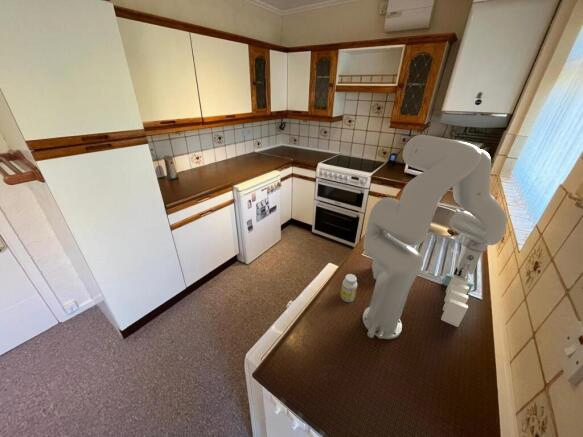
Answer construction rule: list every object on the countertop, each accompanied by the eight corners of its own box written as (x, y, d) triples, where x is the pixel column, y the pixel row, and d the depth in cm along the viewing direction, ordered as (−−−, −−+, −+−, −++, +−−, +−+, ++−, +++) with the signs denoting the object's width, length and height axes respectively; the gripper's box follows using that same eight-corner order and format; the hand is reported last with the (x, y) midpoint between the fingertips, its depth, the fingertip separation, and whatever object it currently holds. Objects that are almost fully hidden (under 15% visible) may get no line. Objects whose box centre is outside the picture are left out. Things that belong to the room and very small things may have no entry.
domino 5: (473, 284, 90) (446, 275, 95) (468, 294, 93) (442, 284, 97) (473, 282, 92) (446, 272, 96) (468, 291, 94) (442, 282, 98)
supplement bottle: (344, 303, 88) (348, 284, 83) (337, 293, 92) (340, 274, 87) (357, 300, 89) (361, 281, 84) (350, 290, 94) (353, 271, 89)
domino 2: (459, 307, 87) (468, 289, 82) (444, 301, 89) (452, 283, 85) (459, 304, 88) (468, 286, 84) (444, 298, 90) (452, 280, 86)
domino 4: (457, 327, 80) (467, 308, 75) (440, 319, 82) (449, 301, 78) (458, 323, 81) (467, 305, 76) (441, 316, 83) (450, 298, 79)
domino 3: (458, 317, 83) (468, 298, 79) (442, 310, 86) (450, 292, 81) (459, 313, 84) (468, 295, 80) (443, 307, 87) (451, 289, 82)
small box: (387, 281, 98) (393, 261, 93) (373, 279, 99) (378, 259, 94) (384, 268, 105) (389, 249, 100) (371, 267, 106) (376, 247, 101)
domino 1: (460, 299, 90) (469, 282, 86) (445, 293, 93) (453, 276, 88) (460, 296, 91) (469, 279, 87) (445, 290, 94) (453, 274, 89)
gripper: (488, 257, 77) (467, 297, 86) (487, 235, 90) (469, 272, 98) (461, 249, 81) (444, 288, 90) (463, 229, 93) (448, 265, 102)
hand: (457, 279), depth 94 cm, fingers open, 4 cm apart
